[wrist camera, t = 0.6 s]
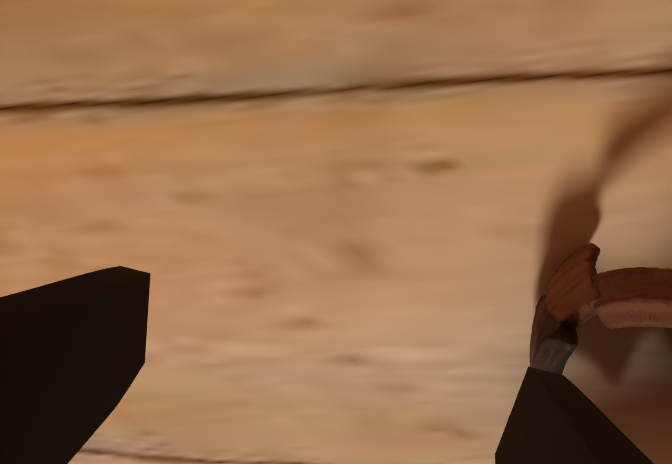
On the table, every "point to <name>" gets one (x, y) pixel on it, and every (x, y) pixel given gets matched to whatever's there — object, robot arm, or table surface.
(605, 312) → the pottery mug
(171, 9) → the table surface
